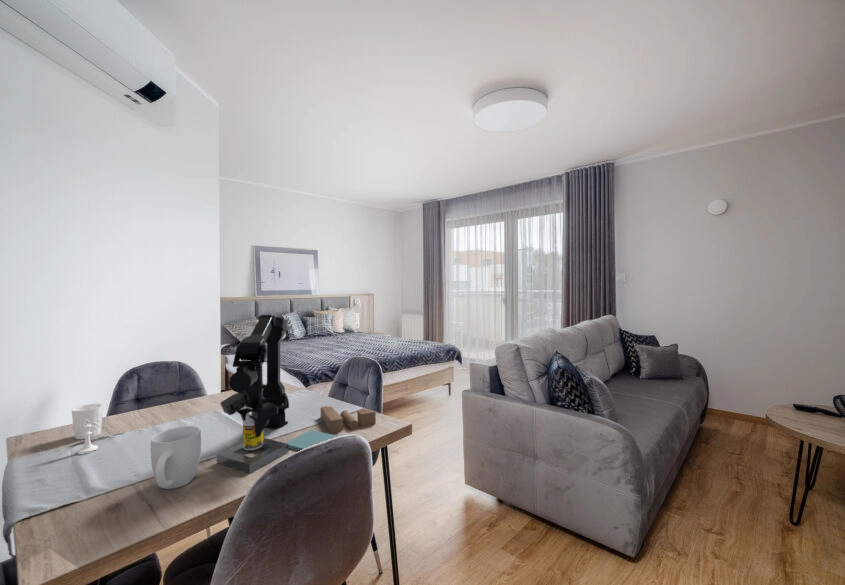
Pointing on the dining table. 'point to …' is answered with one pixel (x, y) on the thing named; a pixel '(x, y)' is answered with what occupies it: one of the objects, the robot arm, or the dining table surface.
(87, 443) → the chess piece
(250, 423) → the supplement bottle
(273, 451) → the frame
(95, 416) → the white cup
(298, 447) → the mat
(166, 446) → the mug
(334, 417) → the wooden block set
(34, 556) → the dining table surface
